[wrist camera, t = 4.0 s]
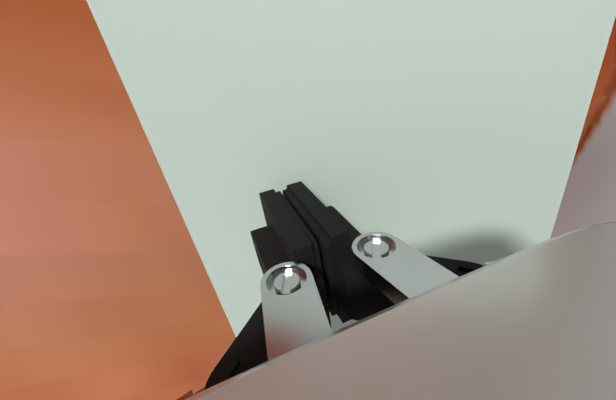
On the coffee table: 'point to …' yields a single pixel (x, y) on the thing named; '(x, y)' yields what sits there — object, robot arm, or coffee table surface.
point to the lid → (361, 117)
